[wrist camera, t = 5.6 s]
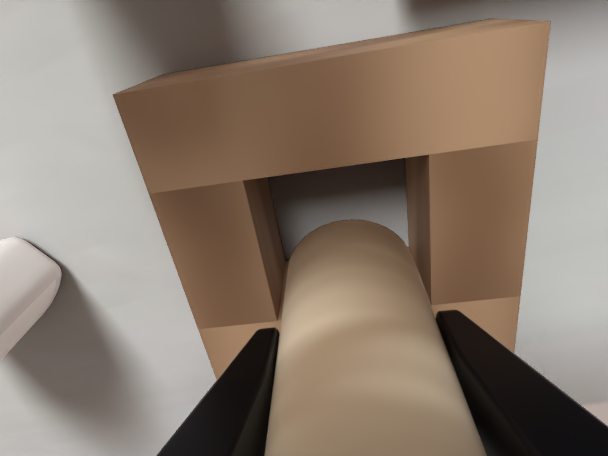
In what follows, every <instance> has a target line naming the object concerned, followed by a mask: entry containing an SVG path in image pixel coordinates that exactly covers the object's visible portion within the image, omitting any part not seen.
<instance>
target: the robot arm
mask: <svg viewBox="0 0 608 456" xmlns="http://www.w3.org/2000/svg"><path fill="white" fill-rule="evenodd" d="M436 321H437V324H438V327H439V329H440V332H441V335H442V337H443V340H444V343H445V345H446V348H447V351H448V353H449V356H450V359H451V361H452V364H453V367H454V369H455V372H456V375H457V377H458V380H459V383H460V385H461V388H462V390H463V393H464V396H465V398H466V401H467V404H468V406H469V409H470V412H471V414H472V417H473V420H474V422H475V425H476V428H477V430H478V433H479V436H480V438H481V441H482V444H483V446H484V449H485V452H486V454H487V456H608V426H607V425H605V424H604V423H603V422H602V421H600V420H599V419H598V418H596V417H595V416H594V415H592V414H591V413H590V412H589V411H587V410H586V409H585V408H584V407H582V406H581V405H580V404H578V403H577V402H576V401H575V400H573V399H572V398H571V397H569V396H568V395H567V394H566V393H564V392H563V391H562V390H560V389H559V388H558V387H557V386H555V385H554V384H553V383H551V382H550V381H549V380H548V379H546V378H545V377H544V376H542V375H541V374H540V373H539V372H537V371H536V370H535V369H533V368H532V367H531V366H530V365H528V364H527V363H526V362H524V361H523V360H522V359H521V358H519V357H518V356H517V355H515V354H514V353H513V352H512V351H510V350H509V349H508V348H506V347H505V346H504V345H503V344H501V343H500V342H499V341H497V340H496V339H495V338H494V337H492V336H491V335H490V334H488V333H487V332H486V331H485V330H483V329H482V328H481V327H479V326H478V325H477V324H476V323H474V322H473V321H472V320H471V319H469V318H468V317H467V316H465V315H464V314H463V313H462V312H460V311H458V310H444V311H438V312H437V314H436ZM279 335H280V333H279V331H278V329H277V328H275V327H272V328H262V329H258V330H257V331H256V332H255V333H254V335H253V336H252V337H251V338H250V340H249V341H248V342H247V343H246V345H245V346H244V347H243V348H242V350H241V351H240V352H239V353H238V355H237V356H236V357H235V358H234V360H233V361H232V362H231V363H230V365H229V366H228V367H227V368H226V370H225V371H224V372H223V373H222V375H221V376H220V377H219V378H218V380H217V381H216V382H215V383H214V385H213V386H212V387H211V388H210V390H209V391H208V392H207V393H206V395H205V396H204V397H203V398H202V400H201V401H200V402H199V403H198V405H197V406H196V407H195V408H194V410H193V411H192V412H191V413H190V415H189V416H188V417H187V418H186V420H185V421H184V422H183V423H182V425H181V426H180V427H179V428H178V430H177V431H176V432H175V433H174V435H173V436H172V437H171V438H170V440H169V441H168V442H167V443H166V445H165V446H164V447H163V448H162V449H161V451H160V452H159V453H158V454H157V456H265V448H266V440H267V432H268V424H269V416H270V408H271V400H272V392H273V383H274V375H275V367H276V359H277V351H278V343H279Z"/></svg>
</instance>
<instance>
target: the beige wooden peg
mask: <svg viewBox="0 0 608 456" xmlns="http://www.w3.org/2000/svg"><path fill="white" fill-rule="evenodd" d="M265 456H487V454H486V452H485V449H484V446H483V444H482V441H481V438H480V436H479V433H478V430H477V428H476V425H475V422H474V420H473V417H472V414H471V412H470V409H469V406H468V404H467V401H466V398H465V396H464V393H463V390H462V388H461V385H460V383H459V380H458V377H457V375H456V372H455V369H454V367H453V364H452V361H451V359H450V356H449V353H448V351H447V348H446V345H445V343H444V340H443V337H442V335H441V332H440V329H439V327H438V324H437V321H436V319H435V316H434V313H433V311H432V308H431V306H430V303H429V300H428V298H427V295H426V292H425V290H424V287H423V284H422V282H421V279H420V276H419V274H418V271H417V268H416V266H415V263H414V260H413V258H412V255H411V253H410V251H409V249H408V247H407V246H406V244H405V243H404V241H403V240H402V239H401V238H400V237H399V236H398V235H396V234H395V233H394V232H393V231H391V230H389V229H388V228H386V227H384V226H382V225H380V224H377V223H374V222H370V221H365V220H353V219H351V220H341V221H335V222H332V223H329V224H326V225H323V226H321V227H319V228H317V229H315V230H314V231H312V232H311V233H309V234H308V235H307V236H305V237H304V238H303V239H302V240H301V241H300V242H299V244H298V245H297V247H296V248H295V249H294V251H293V253H292V255H291V258H290V261H289V265H288V271H287V279H286V287H285V295H284V303H283V311H282V319H281V327H280V335H279V343H278V351H277V359H276V367H275V375H274V383H273V392H272V400H271V408H270V416H269V424H268V432H267V440H266V448H265Z"/></svg>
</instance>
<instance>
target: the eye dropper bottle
mask: <svg viewBox="0 0 608 456" xmlns="http://www.w3.org/2000/svg"><path fill="white" fill-rule="evenodd" d="M61 275H62V273H61V269H60V267H59V266H58V265H57V264H56V263H55V262H54V261H53V260H52V259H50V258H49V257H48V256H46V255H45V254H43V253H42V252H41V251H39V250H38V249H37V248H35V247H34V246H32V245H31V244H29V243H28V242H26V241H25V240H23V239H20V238H17V237H10V238H6V239H3V240H0V361H1V360H2V359H3V357H4V356H5V355H6V354H7V353H8V352H9V351H10V350H11V349H12V348H13V347H14V345H15V344H16V343H17V342H18V341H19V340H20V339H21V338H22V337H23V336H24V335H25V333H26V332H27V331H28V330H29V329H30V328H31V327H32V326H33V325H34V324H35V322H36V321H37V320H38V319H39V318H40V317H41V316H42V315H43V314H44V313H45V311H46V310H47V309H48V307H49V306H50V305H51V303H52V302H53V300H54V298H55V296H56V294H57V291H58V289H59V285H60V281H61Z"/></svg>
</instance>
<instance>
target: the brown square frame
mask: <svg viewBox="0 0 608 456" xmlns="http://www.w3.org/2000/svg"><path fill="white" fill-rule="evenodd" d="M550 23H551V21H533V20H507V19H486V20H480V21H474V22H469V23H463V24H457V25H451V26H445V27H439V28H433V29H428V30H422V31H416V32H410V33H404V34H398V35H392V36H387V37H381V38H375V39H369V40H363V41H357V42H351V43H346V44H340V45H334V46H328V47H322V48H316V49H310V50H305V51H299V52H293V53H287V54H281V55H275V56H269V57H264V58H258V59H252V60H246V61H240V62H234V63H228V64H223V65H217V66H211V67H205V68H199V69H193V70H187V71H182V72H176V73H170V74H164V75H161V76H158V77H156V78H153V79H151V80H148V81H146V82H143V83H141V84H138V85H136V86H133V87H131V88H128V89H126V90H123V91H121V92H118V93H116V94H113V97H114V99H115V102H116V105H117V108H118V110H119V113H120V116H121V119H122V121H123V124H124V127H125V129H126V132H127V135H128V138H129V140H130V143H131V146H132V149H133V151H134V154H135V157H136V160H137V162H138V165H139V168H140V171H141V173H142V176H143V179H144V182H145V184H146V187H147V190H148V193H149V195H150V198H151V201H152V204H153V206H154V209H155V212H156V215H157V217H158V220H159V223H160V226H161V228H162V231H163V234H164V236H165V239H166V242H167V245H168V247H169V250H170V253H171V256H172V258H173V261H174V264H175V267H176V269H177V272H178V275H179V278H180V280H181V283H182V286H183V289H184V291H185V294H186V297H187V300H188V302H189V305H190V308H191V311H192V313H193V316H194V319H195V322H196V324H197V327H198V330H199V333H200V335H201V338H202V341H203V344H204V346H205V349H206V352H207V354H208V357H209V360H210V363H211V365H212V368H213V371H214V374H215V376H216V379H217V380H218V378H219V377H220V376H221V375H222V373H223V372H224V371H225V370H226V368H227V367H228V366H229V365H230V363H231V362H232V361H233V360H234V358H235V357H236V356H237V355H238V353H239V352H240V351H241V350H242V348H243V347H244V346H245V345H246V343H247V342H248V341H249V340H250V338H251V337H252V336H253V335H254V333H255V332H256V331H257V330H258V329H262V328H272V327H275V328H277V329H278V331H279V333H280V327H281V319H282V311H283V303H284V295H285V287H286V279H287V271H288V265H289V261H285V258H284V253H283V249H282V244H281V239H280V235H279V230H278V225H277V221H276V216H275V211H274V206H273V202H272V197H271V192H270V188H269V183H268V178H267V177H272V176H279V175H286V174H293V173H300V172H308V171H315V170H322V169H329V168H336V167H343V166H351V165H358V164H365V163H372V162H379V161H386V160H393V159H401V158H405V170H406V192H407V214H408V236H409V247H408V249H409V251H410V253H411V255H412V258H413V260H414V263H415V266H416V268H417V271H418V274H419V276H420V279H421V282H422V284H423V287H424V290H425V292H426V295H427V298H428V300H429V303H430V306H431V308H432V311H433V313H434V316H435V319H436V314H437V312H438V311H444V310H458V311H460V312H462V313H463V314H464V315H465V316H467V317H468V318H469V319H471V320H472V321H473V322H474V323H476V324H477V325H478V326H479V327H481V328H482V329H483V330H485V331H486V332H487V333H488V334H490V335H491V336H492V337H494V338H495V339H496V340H497V341H499V342H500V343H501V344H503V345H504V346H505V347H506V348H508V349H509V350H510V351H512V352H513V353H514V349H515V340H516V331H517V322H518V313H519V304H520V295H521V286H522V277H523V268H524V259H525V249H526V240H527V231H528V222H529V213H530V204H531V195H532V186H533V177H534V168H535V159H536V150H537V141H538V131H539V122H540V113H541V104H542V95H543V86H544V77H545V68H546V59H547V50H548V41H549V32H550Z"/></svg>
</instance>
